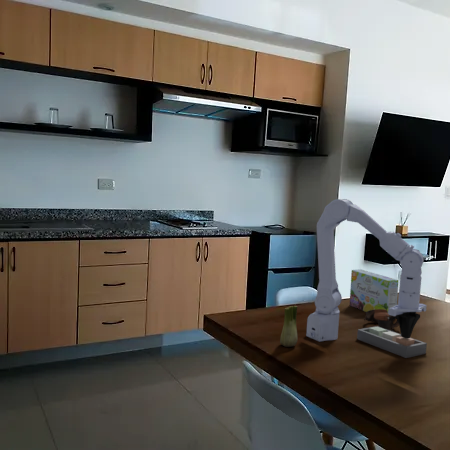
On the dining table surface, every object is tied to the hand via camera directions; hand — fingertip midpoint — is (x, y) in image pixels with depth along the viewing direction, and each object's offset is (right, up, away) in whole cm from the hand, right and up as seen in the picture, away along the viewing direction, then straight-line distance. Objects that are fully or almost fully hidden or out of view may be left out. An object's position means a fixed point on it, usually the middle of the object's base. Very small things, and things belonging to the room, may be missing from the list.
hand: (405, 337), depth 143 cm
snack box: (+4, -2, +48) cm, 49 cm away
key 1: (-6, -2, +9) cm, 10 cm away
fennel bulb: (-34, -3, +3) cm, 34 cm away
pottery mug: (+1, -3, +25) cm, 25 cm away
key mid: (-3, -2, +4) cm, 6 cm away
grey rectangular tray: (-3, -5, +5) cm, 7 cm away
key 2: (0, -3, 0) cm, 3 cm away
